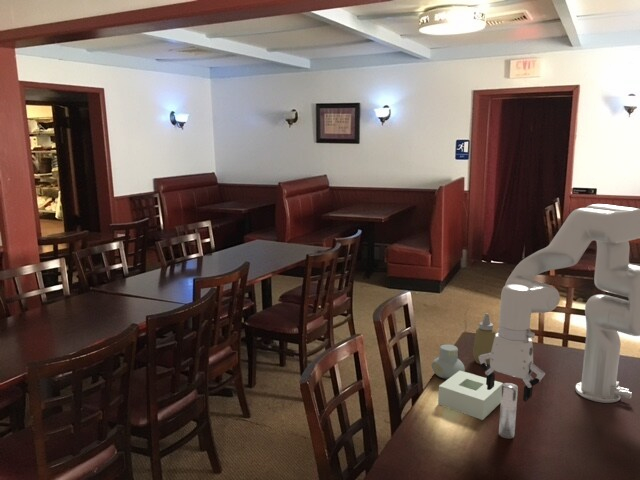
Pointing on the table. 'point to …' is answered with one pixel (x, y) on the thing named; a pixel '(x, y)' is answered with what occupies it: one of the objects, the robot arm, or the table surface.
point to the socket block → (469, 395)
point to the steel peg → (508, 410)
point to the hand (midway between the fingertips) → (508, 393)
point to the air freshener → (447, 362)
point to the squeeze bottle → (484, 339)
